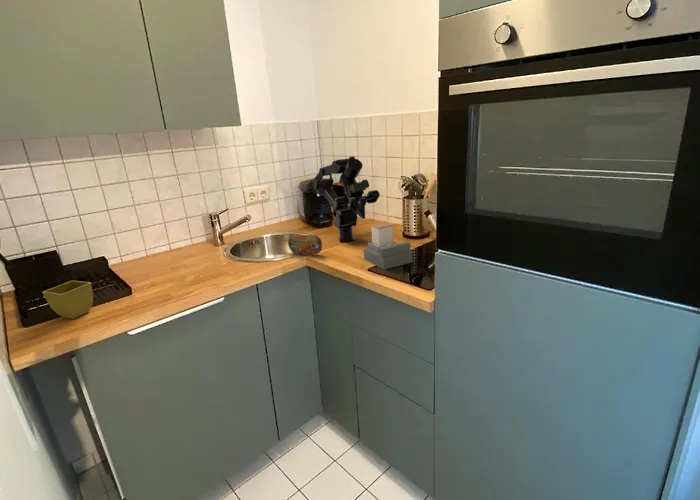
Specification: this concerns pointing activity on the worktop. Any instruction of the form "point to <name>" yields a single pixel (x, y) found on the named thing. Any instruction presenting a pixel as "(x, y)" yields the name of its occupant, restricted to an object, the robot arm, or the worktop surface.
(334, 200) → the robot arm
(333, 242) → the worktop surface
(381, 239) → the white block
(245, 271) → the worktop surface
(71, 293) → the flower pot
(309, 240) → the tin
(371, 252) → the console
